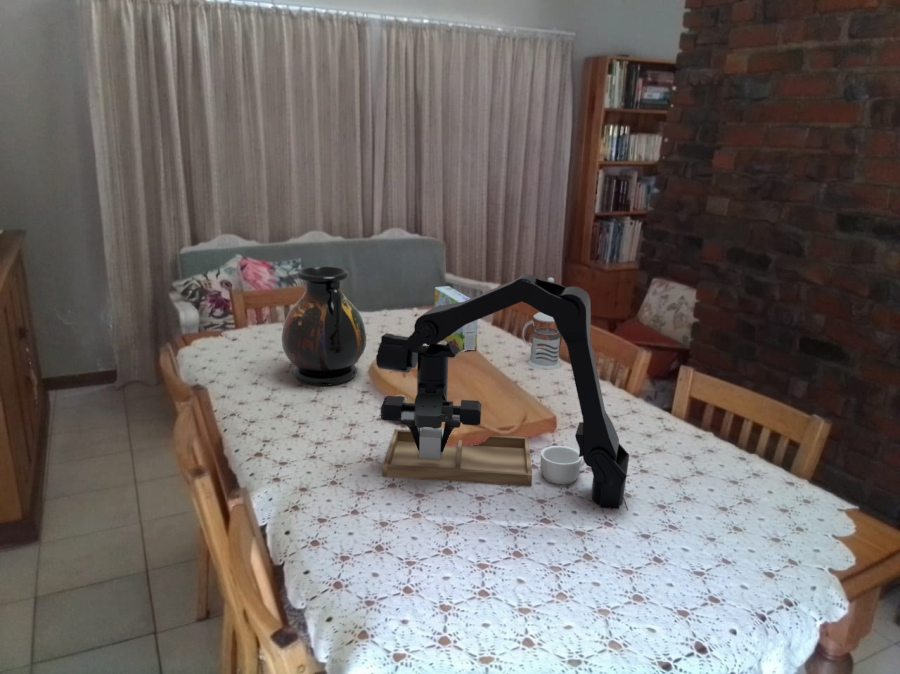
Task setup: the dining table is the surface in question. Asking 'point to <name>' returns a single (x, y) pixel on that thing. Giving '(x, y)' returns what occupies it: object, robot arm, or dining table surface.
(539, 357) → the french press
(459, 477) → the divided tray
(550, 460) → the teacup
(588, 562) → the dining table surface
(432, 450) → the light grey cube
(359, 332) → the amphora vase
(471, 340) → the snack box
